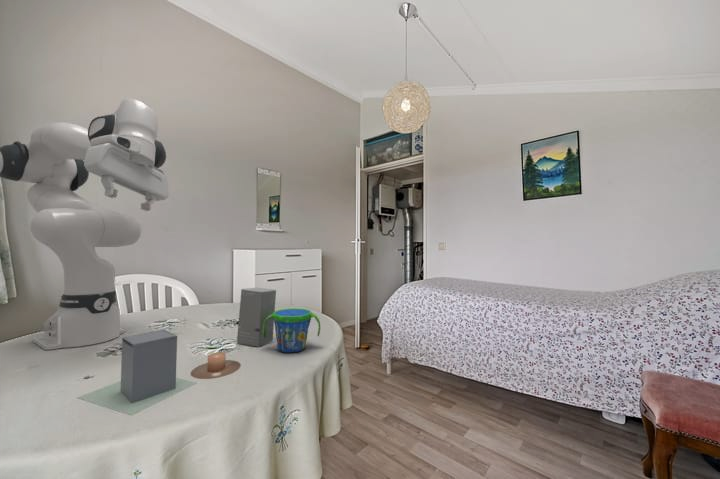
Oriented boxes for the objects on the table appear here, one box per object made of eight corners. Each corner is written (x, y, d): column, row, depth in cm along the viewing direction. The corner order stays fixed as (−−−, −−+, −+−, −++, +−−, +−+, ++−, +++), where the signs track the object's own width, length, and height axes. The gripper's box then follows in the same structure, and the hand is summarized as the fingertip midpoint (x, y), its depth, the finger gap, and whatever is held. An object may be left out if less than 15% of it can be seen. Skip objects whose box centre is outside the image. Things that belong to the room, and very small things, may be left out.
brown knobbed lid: (179, 377, 61) (179, 359, 61) (217, 360, 70) (218, 345, 70) (214, 386, 57) (215, 366, 58) (250, 367, 67) (250, 350, 67)
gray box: (120, 391, 53) (122, 337, 54) (162, 378, 59) (163, 329, 59) (131, 403, 49) (133, 345, 50) (175, 388, 55) (177, 335, 55)
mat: (76, 402, 51) (76, 397, 51) (146, 374, 62) (147, 371, 62) (131, 420, 46) (131, 415, 46) (197, 386, 57) (197, 382, 57)
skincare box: (236, 344, 83) (237, 289, 84) (254, 337, 90) (255, 286, 90) (259, 348, 80) (260, 291, 80) (275, 340, 86) (276, 288, 87)
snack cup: (322, 342, 85) (322, 308, 85) (318, 355, 74) (318, 316, 74) (268, 342, 84) (269, 308, 85) (257, 356, 74) (258, 316, 74)
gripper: (157, 175, 86) (153, 218, 83) (83, 135, 67) (74, 189, 63) (175, 171, 85) (173, 214, 82) (106, 130, 66) (98, 184, 62)
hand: (129, 203), depth 72 cm, fingers open, 8 cm apart
